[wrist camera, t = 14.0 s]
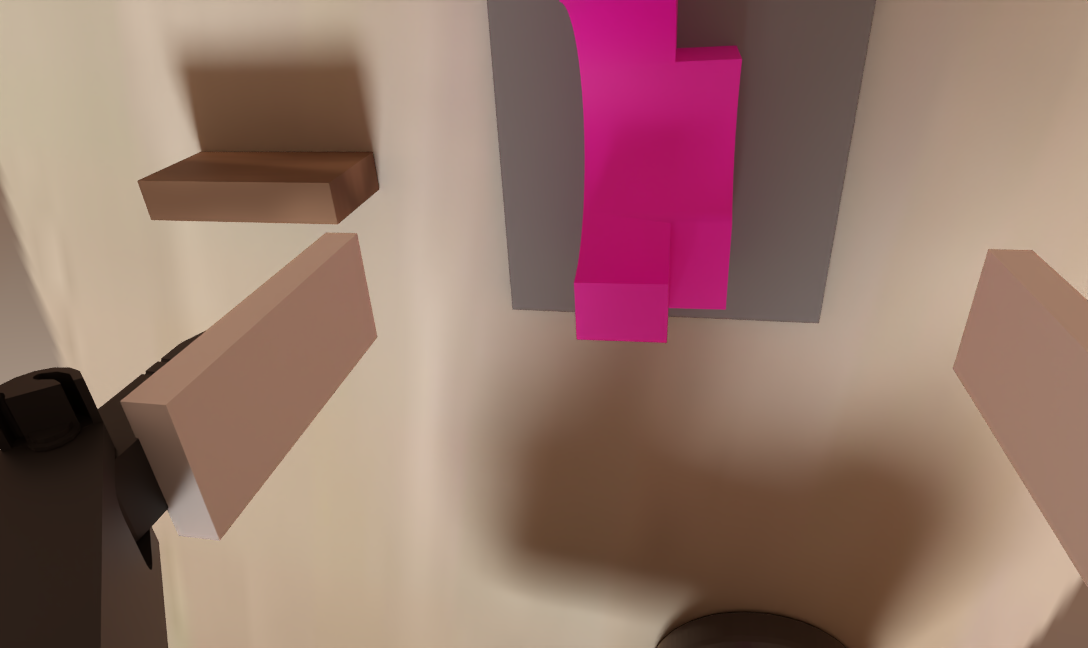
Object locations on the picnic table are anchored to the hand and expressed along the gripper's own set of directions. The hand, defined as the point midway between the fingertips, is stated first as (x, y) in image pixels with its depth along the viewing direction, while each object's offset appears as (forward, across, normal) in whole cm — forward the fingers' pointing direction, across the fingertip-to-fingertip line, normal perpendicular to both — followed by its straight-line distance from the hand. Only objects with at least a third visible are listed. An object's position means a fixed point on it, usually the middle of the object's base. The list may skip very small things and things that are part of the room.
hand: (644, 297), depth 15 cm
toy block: (+19, 0, 0) cm, 19 cm away
